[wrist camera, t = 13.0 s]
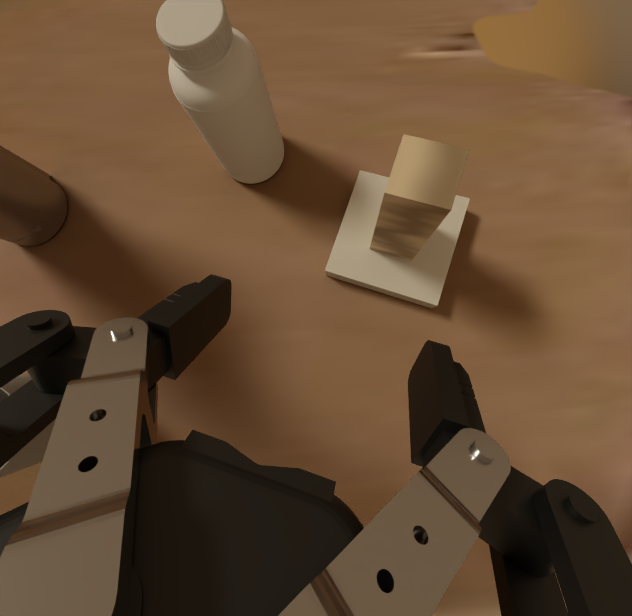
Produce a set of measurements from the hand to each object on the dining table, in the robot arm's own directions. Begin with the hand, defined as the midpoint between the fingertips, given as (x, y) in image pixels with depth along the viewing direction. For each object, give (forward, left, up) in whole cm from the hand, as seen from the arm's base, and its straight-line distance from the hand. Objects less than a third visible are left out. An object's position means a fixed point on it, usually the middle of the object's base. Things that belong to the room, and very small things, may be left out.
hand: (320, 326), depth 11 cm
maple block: (-8, +10, -18) cm, 22 cm away
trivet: (-8, +10, -20) cm, 24 cm away
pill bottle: (-25, -1, -20) cm, 32 cm away
